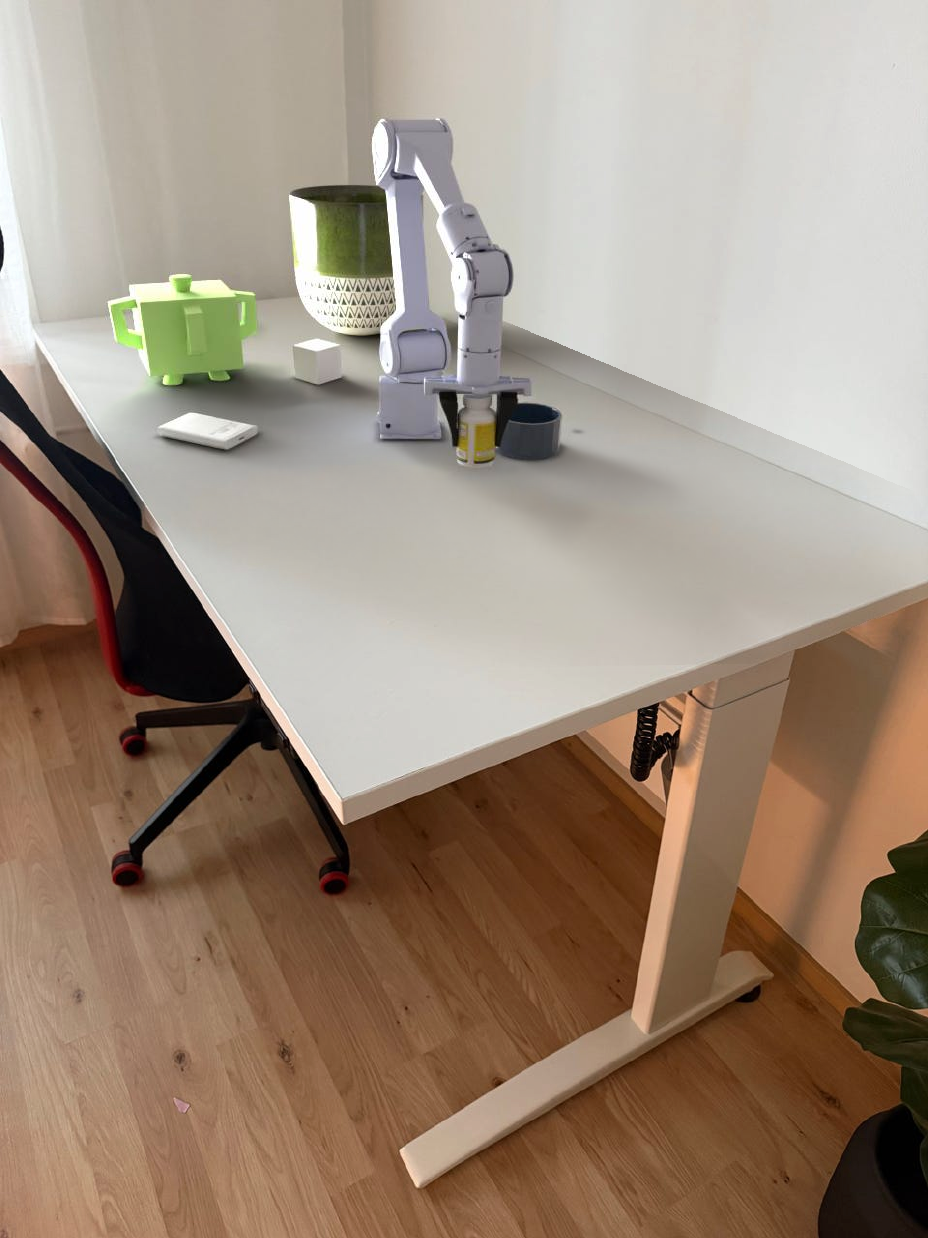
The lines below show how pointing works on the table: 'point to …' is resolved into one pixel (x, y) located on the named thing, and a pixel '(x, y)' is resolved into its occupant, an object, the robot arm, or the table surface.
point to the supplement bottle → (476, 431)
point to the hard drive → (208, 430)
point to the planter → (344, 256)
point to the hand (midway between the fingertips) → (475, 444)
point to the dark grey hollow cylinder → (532, 432)
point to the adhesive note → (317, 361)
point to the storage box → (186, 327)
